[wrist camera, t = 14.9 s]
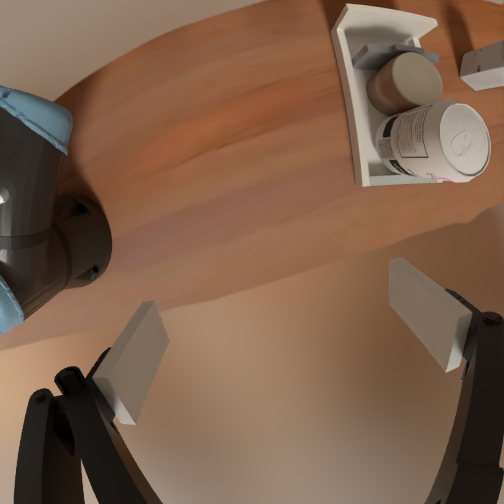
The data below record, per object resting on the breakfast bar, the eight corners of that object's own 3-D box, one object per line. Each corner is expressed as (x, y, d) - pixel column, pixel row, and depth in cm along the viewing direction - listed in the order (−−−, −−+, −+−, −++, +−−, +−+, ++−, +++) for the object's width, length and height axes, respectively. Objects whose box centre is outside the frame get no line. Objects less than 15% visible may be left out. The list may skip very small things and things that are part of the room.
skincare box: (462, 53, 29) (504, 35, 17) (479, 68, 29) (523, 55, 18) (458, 78, 31) (504, 64, 19) (476, 93, 31) (522, 84, 19)
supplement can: (402, 105, 32) (467, 83, 17) (432, 155, 33) (503, 158, 19) (361, 134, 33) (418, 120, 19) (395, 186, 35) (461, 201, 21)
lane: (355, 184, 37) (380, 190, 28) (330, 32, 30) (346, 3, 22) (431, 180, 36) (467, 186, 27) (408, 39, 30) (435, 19, 21)
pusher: (351, 68, 31) (371, 47, 23) (349, 61, 31) (369, 39, 23) (415, 73, 30) (444, 58, 22) (413, 67, 30) (442, 51, 22)
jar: (370, 116, 33) (400, 104, 24) (361, 69, 31) (387, 47, 22) (413, 117, 32) (448, 109, 24) (404, 72, 31) (436, 55, 22)
